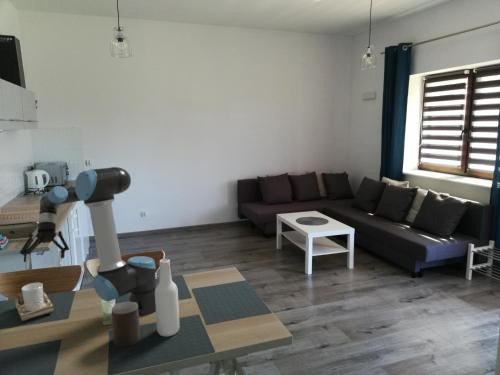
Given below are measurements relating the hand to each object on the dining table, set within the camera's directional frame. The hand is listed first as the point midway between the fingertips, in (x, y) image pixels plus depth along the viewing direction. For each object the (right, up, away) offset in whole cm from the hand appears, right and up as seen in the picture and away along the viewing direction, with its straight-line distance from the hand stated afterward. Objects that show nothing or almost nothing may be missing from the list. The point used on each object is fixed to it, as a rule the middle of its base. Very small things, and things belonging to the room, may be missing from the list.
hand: (43, 267), depth 165 cm
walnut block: (-8, -16, -1) cm, 18 cm away
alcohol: (+61, -22, -19) cm, 68 cm away
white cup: (0, -17, -6) cm, 18 cm away
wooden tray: (-3, -19, -3) cm, 19 cm away
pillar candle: (+47, -23, -25) cm, 58 cm away
